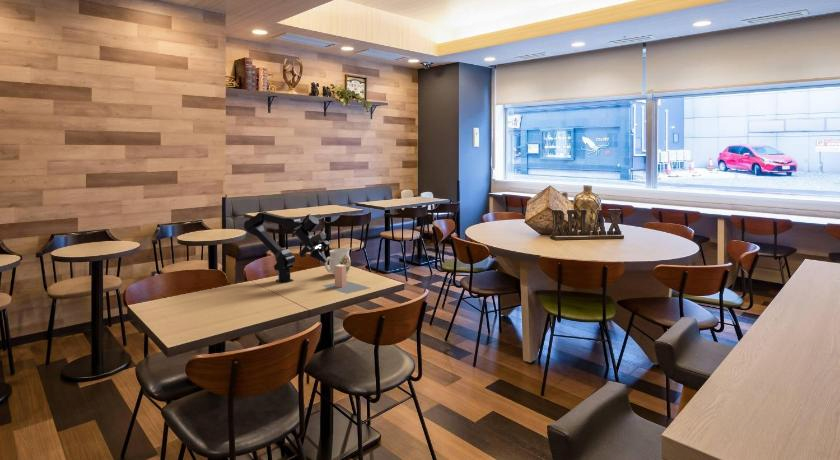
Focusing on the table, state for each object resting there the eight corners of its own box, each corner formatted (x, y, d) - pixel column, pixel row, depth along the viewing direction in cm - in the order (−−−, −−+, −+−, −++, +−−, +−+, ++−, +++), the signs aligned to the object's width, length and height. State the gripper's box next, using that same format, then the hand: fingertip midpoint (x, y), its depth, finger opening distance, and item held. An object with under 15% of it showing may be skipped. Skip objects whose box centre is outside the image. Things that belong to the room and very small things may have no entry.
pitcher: (318, 277, 262) (317, 251, 260) (344, 271, 276) (343, 246, 274) (333, 280, 256) (332, 253, 254) (358, 273, 270) (357, 248, 268)
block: (334, 286, 242) (334, 265, 240) (339, 284, 245) (338, 264, 244) (342, 287, 240) (341, 266, 239) (346, 285, 244) (346, 264, 242)
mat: (322, 286, 244) (321, 285, 244) (345, 281, 253) (345, 280, 253) (346, 294, 229) (346, 293, 229) (371, 288, 239) (371, 287, 239)
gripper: (303, 229, 235) (324, 254, 233) (326, 224, 252) (345, 247, 250) (290, 245, 239) (310, 270, 237) (313, 239, 256) (332, 262, 254)
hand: (325, 261), depth 244 cm, fingers closed
